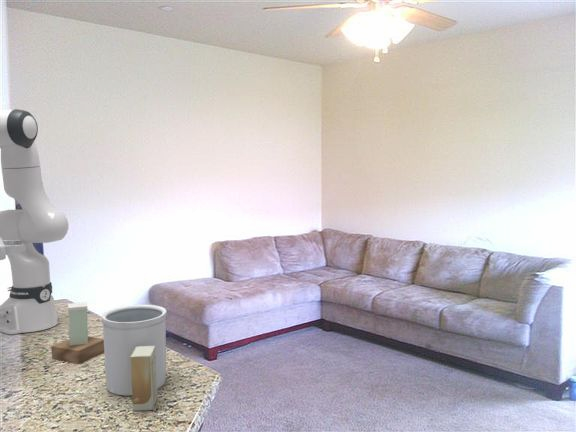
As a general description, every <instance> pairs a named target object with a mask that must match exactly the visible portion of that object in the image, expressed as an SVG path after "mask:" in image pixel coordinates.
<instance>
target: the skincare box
mask: <svg viewBox="0 0 576 432" xmlns="http://www.w3.org/2000/svg"><path fill="white" fill-rule="evenodd" d="M130 358H131V379H132V395H131V396H132V397H131V398H132V399H131V400H132V411H133V412H138V411H152V410H154V407H155V406H156V402H157V401H158V389H157V376H156V352H155V346H139V347H136V348H135V349H134V351H133V353H132V355H131V357H130Z"/></svg>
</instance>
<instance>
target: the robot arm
mask: <svg viewBox="0 0 576 432" xmlns="http://www.w3.org/2000/svg"><path fill="white" fill-rule="evenodd" d="M38 133H39V127H38V123H37V119H36V118H35V117H34V116H33V115H32V113H30V112H29V111H28V110H27V111H26V110H23V109H18V108H15V109H6V108H5V109H4V108H0V164H1V165H0V166H1V174H2V184H3V190H4V192H5V194H7V196H8V197H10V198H11V199H14V200H15V201H16V202H18V204H19V205H20V207H21V209H6V210H0V261H2V260H6V256H7V258H8V261H9V263H10V264H9V265H10V271H11V279H12V286H10V287H7V289H8V290H7V292H10V293H9V297H8V298H7V299H6V300H5V301H3V303H1V304H0V333H4V334H6V335H17V334H21V333H23V334H24V333H33V332H39V331H43V330H48V329H51V328H53V327H55V326H57V325H58V324H59V319H60V318H59V317H60V316H59V315H57V310H56V305H55V298H54V296H53V295H52V293H53V285H52V282H51V277H50V276H51V275H50V262H49V259H48V258H47V256H45V255H44V254H42V253H40V252H38V250H37V248H35V246H34V244H49V243H53V242H58V241H61V240H63V239H64V238H65V237H66V235H67V233H68V231H69V221H68V218H67V217H66V215H65V214H64V213H63V212H62V211H60V210H59V209H58V208H56V207H55V206H54V205H53V204H52V201H50V199H49V197H48V195H47V194H46V191H45V186H44V184H43V183H44V182H43V178H42V171H41V170H42V169H41V161H40V156H39V151H38V148H37V145H36V139H37V137H38Z"/></svg>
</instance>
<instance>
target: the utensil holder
mask: <svg viewBox="0 0 576 432" xmlns="http://www.w3.org/2000/svg"><path fill="white" fill-rule="evenodd" d="M167 312H168V311H167V309H166V308H165V307H163V306H161V305H160V306H159V305H154V304H130V305H123V306H118V307H115V308H111V309H109V310H107V311H104V312H103V313H102V314H101V322H102V328H103V329H102V330H103V332H102V333H103V339H104V353H103V355H104V373H105V384H106V390H107V391H109V393H112V394H114V395H118V396H132V379H131V358H130V357H131V355H132V353H133V351H134V349H135V348H136V347H139V346H155V352H156V376H157V390H158V389H159V388H161V387H163V386H164V384H165V383H166V379H167V377H166V376H167V341H166V339H167V333H166V331H167V330H166V329H167V328H166V326H167V325H166V323H167V322H166V318H167V314H168V313H167Z"/></svg>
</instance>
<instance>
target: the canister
mask: <svg viewBox="0 0 576 432" xmlns="http://www.w3.org/2000/svg"><path fill="white" fill-rule="evenodd" d="M67 311H68V335H69V339H68V340H70V346H73V345H81V344H88V336H89V334H88V332H89V331H88V304H87V301H84V302H73V303H72V302H71V303H67Z"/></svg>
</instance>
